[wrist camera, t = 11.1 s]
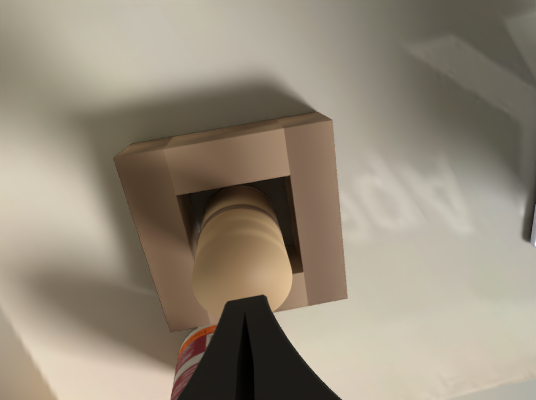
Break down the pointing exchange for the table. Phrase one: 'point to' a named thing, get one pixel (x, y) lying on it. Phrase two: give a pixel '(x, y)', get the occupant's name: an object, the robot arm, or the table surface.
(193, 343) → the pill bottle
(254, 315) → the robot arm
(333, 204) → the board
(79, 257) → the table surface
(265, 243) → the peg
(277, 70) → the table surface
